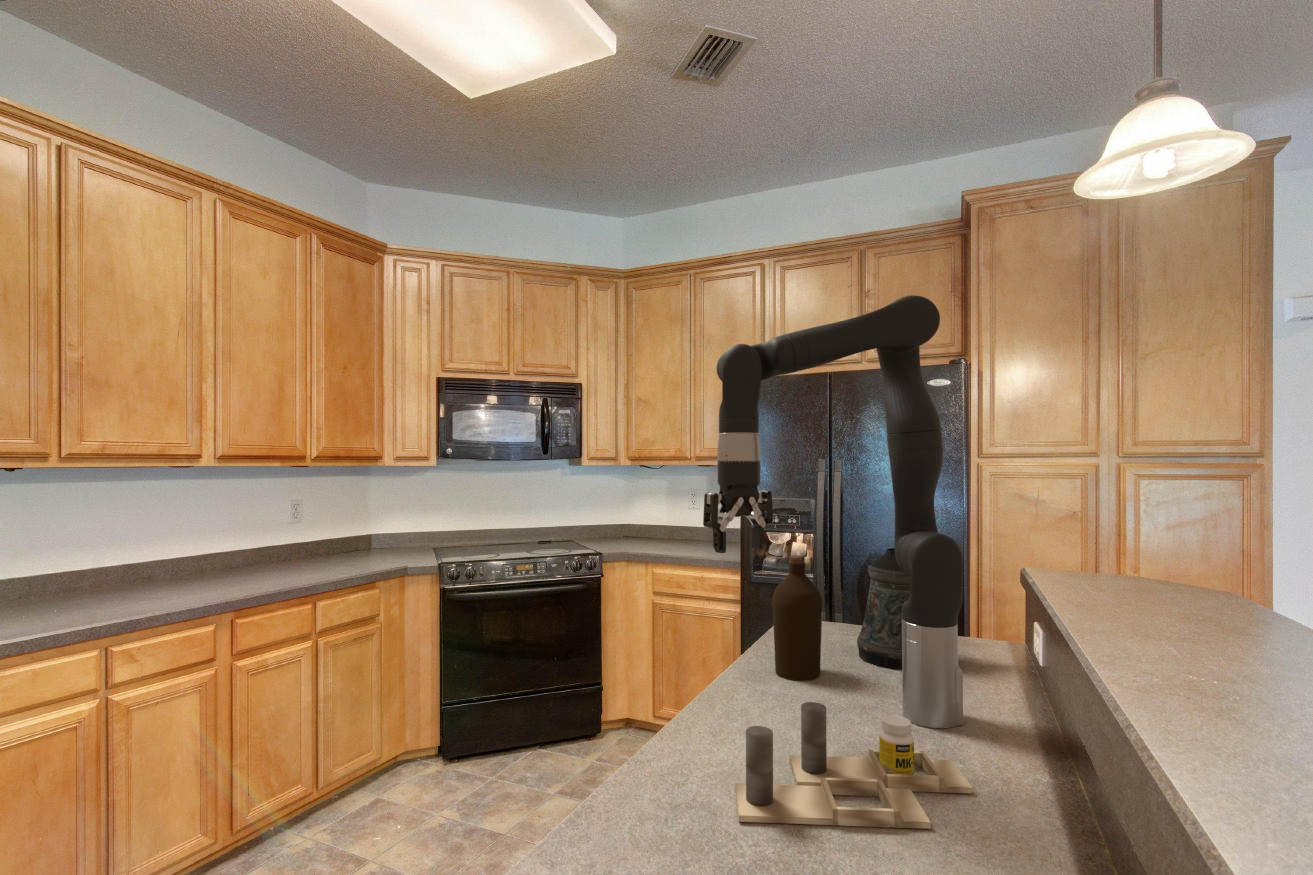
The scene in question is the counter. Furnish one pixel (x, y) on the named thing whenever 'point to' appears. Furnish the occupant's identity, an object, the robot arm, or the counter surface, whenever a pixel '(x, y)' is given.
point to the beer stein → (884, 613)
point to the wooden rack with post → (865, 762)
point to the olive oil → (797, 624)
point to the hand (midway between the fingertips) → (739, 550)
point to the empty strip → (817, 795)
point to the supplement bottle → (896, 745)
